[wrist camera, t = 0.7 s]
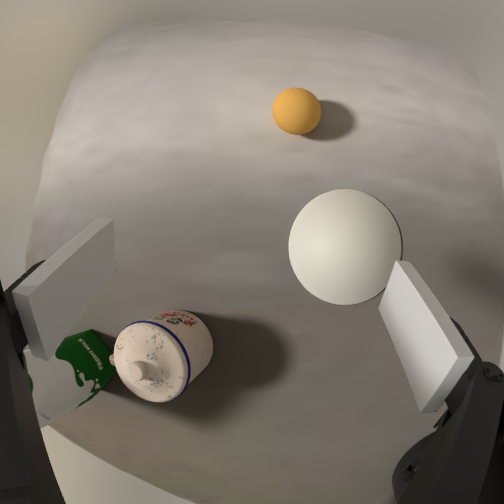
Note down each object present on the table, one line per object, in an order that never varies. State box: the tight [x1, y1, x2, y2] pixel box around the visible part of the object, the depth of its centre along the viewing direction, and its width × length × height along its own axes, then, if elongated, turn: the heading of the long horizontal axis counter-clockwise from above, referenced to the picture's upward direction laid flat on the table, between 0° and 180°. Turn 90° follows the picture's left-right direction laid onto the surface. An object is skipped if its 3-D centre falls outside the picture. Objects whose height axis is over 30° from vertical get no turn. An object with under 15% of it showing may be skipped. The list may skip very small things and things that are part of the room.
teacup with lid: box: [109, 310, 213, 402], centre depth 34 cm, size 12×9×12 cm
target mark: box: [289, 189, 401, 305], centre depth 35 cm, size 13×13×1 cm
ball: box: [272, 88, 321, 135], centre depth 34 cm, size 6×6×6 cm
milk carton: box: [23, 329, 117, 428], centre depth 33 cm, size 9×9×20 cm
